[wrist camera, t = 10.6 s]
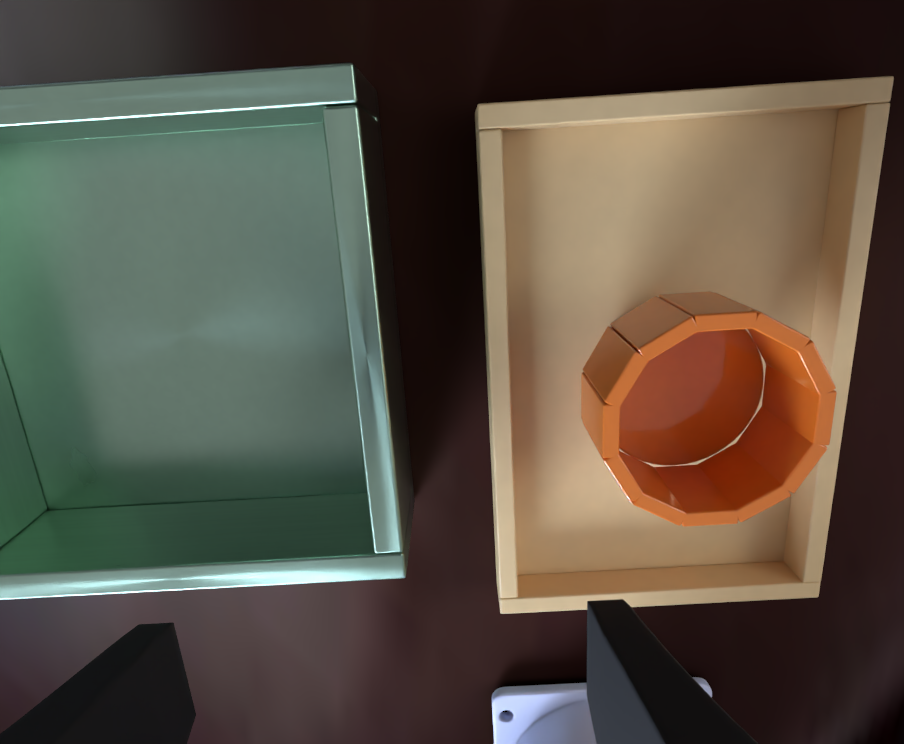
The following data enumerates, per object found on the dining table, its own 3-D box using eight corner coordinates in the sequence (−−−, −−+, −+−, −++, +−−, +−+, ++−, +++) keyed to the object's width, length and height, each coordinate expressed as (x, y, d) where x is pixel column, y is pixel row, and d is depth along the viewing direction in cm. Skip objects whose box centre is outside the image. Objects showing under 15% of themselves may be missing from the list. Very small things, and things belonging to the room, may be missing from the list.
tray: (790, 565, 21) (819, 598, 19) (496, 581, 21) (500, 614, 19) (851, 85, 16) (895, 75, 15) (474, 111, 16) (477, 103, 15)
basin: (414, 501, 20) (405, 579, 16) (43, 522, 20) (-54, 603, 16) (377, 89, 16) (353, 61, 12) (-80, 121, 17) (-244, 102, 13)
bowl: (736, 443, 19) (820, 520, 15) (567, 452, 19) (601, 531, 15) (751, 274, 17) (849, 305, 13) (566, 286, 17) (604, 320, 13)
